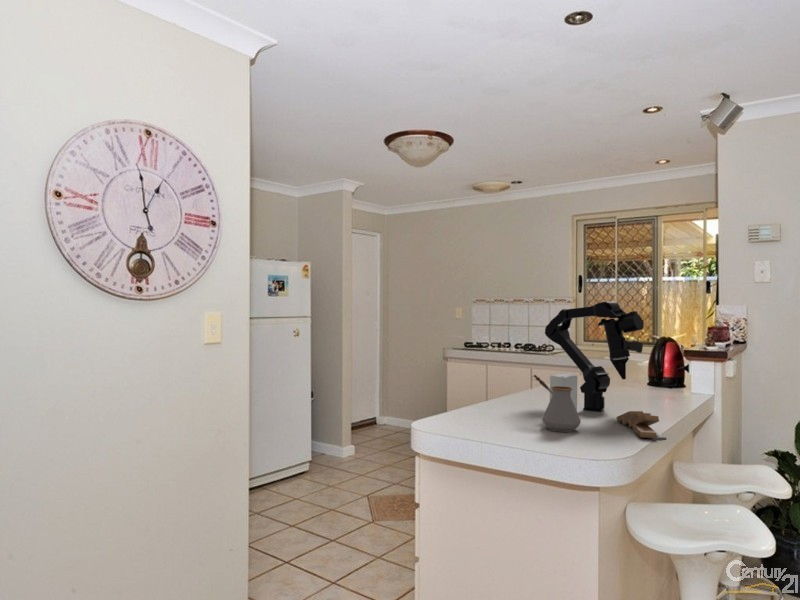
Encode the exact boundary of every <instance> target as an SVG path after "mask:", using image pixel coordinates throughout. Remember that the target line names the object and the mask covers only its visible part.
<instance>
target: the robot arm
mask: <svg viewBox="0 0 800 600" xmlns="http://www.w3.org/2000/svg"><path fill="white" fill-rule="evenodd" d="M638 313H639V312H638V310H635V311H634V310H633V311H630V312H628V313H626V312H625V311H624V310H623V309H622V308H621V307H620V304H619V303H618V302H617V301H600V302H598V303H595V304H593V305H591V306H585V307H575V308H562V309H561V310H560V311H559V312H558V314H557V315H556V316H554V317H553V318H552V319H551V320H550V322H549V323H548V324H547V325H546V326H545V329H544V334H545V336H546V338H548V339H549V340H550V341H551V342H554V343H555V344H557V345H559V347H560V348H561V349H562V351H564V352H565V353H566V355H567V356H568V357H569V359H571V361H572V362H573V363H574V364H575V366H576V367H577V368H578V369H579V370H580V372H581V373H582V378H583V381H584V383H582V384H581V385H580V386H579V390H580V392H581V394H583V399H584V400H583V401H584V402H583V404H584V405H583V408H582V409H583V410H584V411H586V410H587V411H597V412H602V411H603V410H604V409H605V406H606V405H605V404H606V403H605V402H606V401H605V400H606V399H605V396H604V393H606V392H607V390H608V388H609V386H610V384H611V377H610V376H609V374H610V373H609V372H607V371H606V370H605V368H604V367H603V366H602V365H599V366H595V365H594V364H593V363H592V362H591V361H590V360H589V359H588V357H587V356H586V355H585V354H584V353H583V351H581V349H580V348H579V347H578V346H577V344H576V343H575V342H574V341H573V340H572V338H571V335H570V331H569V328H570V327H571V323H572V320H573V319H580V318H590V317H596V318H601V319H600V321H599V322H598V324H597V326H599V327H601V326H602V327H604V332H605V337H606V342H607V343H606V344H607V347H608V350H609V351H608V352H609V356H608V357H609V361H610V363H611V364H612V366H613V367H614V369H615V370H616V372H617V373H618V375H619V377H620V378H621V379H622V380H626V379H627V375H626V374H627V370H626V369H627V365H626V364H627V362H628V361H629V360H630V358H629V357H631V355H630V351H631V352H636V353H639V354H642V352H643V347H644V343H643V342H639V340H633V341H632V340H631V341H630V340H626V337H625V336H624V333H625V334H629V333H634V332H638V331H642V330H643V329H644V325H645V324H644V320H643V319H642V317H641V316H640V314H638ZM607 318H608V319H607Z"/></svg>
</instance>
